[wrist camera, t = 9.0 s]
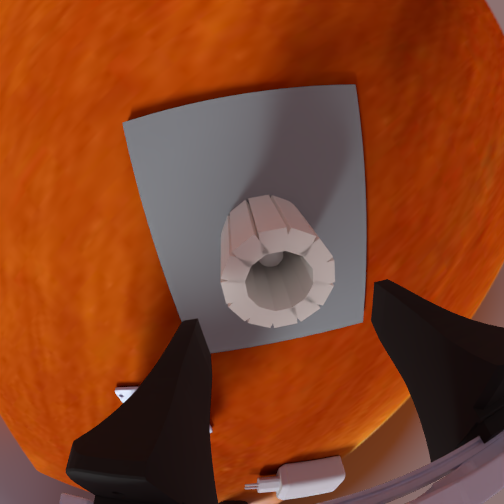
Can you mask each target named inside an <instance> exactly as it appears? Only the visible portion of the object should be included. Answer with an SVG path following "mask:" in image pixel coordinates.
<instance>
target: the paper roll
mask: <svg viewBox="0 0 504 504" xmlns="http://www.w3.org/2000/svg"><path fill="white" fill-rule="evenodd" d="M248 200H249V203H248V202H247V201H246V200H244V201H243V202H242V203H240V204H239V205H238V206H237V207H236V208H234V209H233V210H232V211H231V212H230V216H227V218H226V221H225V224H224V227H223V229H222V232H221V286H222V290H223V294H224V297H225V301H226V304H228V307H229V308H230V309H231V310H232V311H233V312H234V313H236V314H237V315H238V316H239V317H240V318H241V319H242V320H244V321H246V320H248V323H250V324H254V325H259V326H263V327H268V328H271V326H272V324H273V325H274V328H277V327H282V326H287V325H292V324H297V318H298V319H299V320H300V321H303V320H304V319H306V318H307V317H309V316H310V315H312V314H313V313H314V312H316V311H317V310H319V309H320V306H319V305H324V303H325V301H326V299H327V298H328V296H329V294H330V292H331V290H332V289H333V287H334V285H333V283H334V282H335V262H334V259H333V256H332V254H331V253H330V252H329V250H328V249H327V248H326V246H325V245H324V243H323V242H322V241H321V239H320V238H319V237H318V235H317V234H316V233H315V231H314V230H313V229H312V227H311V226H310V225H309V223H308V222H307V221H306V219H305V218H304V217H303V215H302V214H301V213H300V212H299V210H298V209H297V208H296V207H295V205H294V204H292V203H291V202H290V201H288V200H285V199H282V198H279V197H276V196H274V195H272V196H271V198H270V196H269V195H263V196H258V197H252V198H248ZM282 251H284V252H283V259H282V261H281V262H280V263H279V264H278V265H276V266H274V267H266V266H264V265H262V264H261V263H260V261H259V260H260V259H261V258H262V257H264V256H265V255H266V254H271V253H276V252H282Z"/></svg>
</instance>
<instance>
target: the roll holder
mask: <svg viewBox="0 0 504 504" xmlns="http://www.w3.org/2000/svg"><path fill="white" fill-rule="evenodd" d="M123 128H124V132H125V137H126V141H127V146H128V150H129V154H130V158H131V163H132V167H133V171H134V175H135V178H136V182H137V186H138V190H139V193H140V197H141V201H142V204H143V208H144V211H145V215H146V218H147V222H148V225H149V228H150V232H151V235H152V238H153V241H154V244H155V248H156V251H157V254H158V257H159V260H160V263H161V266H162V269H163V272H164V275H165V278H166V280H167V283H168V286H169V289H170V292H171V295H172V297H173V300H174V303H175V305H176V308H177V311H178V313H179V316H180V319H181V321H184V320H191V319H197V318H198V320H199V323H200V326H201V329H202V332H203V335H204V337H205V340H206V343H207V346H208V348H209V351H210V353H217V352H224V351H230V350H236V349H242V348H248V347H254V346H259V345H265V344H270V343H275V342H280V341H285V340H290V339H295V338H299V337H304V336H308V335H313V334H317V333H321V332H326V331H330V330H334V329H338V328H342V327H346V326H350V325H354V324H357V323H361V322H363V314H364V300H365V280H366V189H365V170H364V155H363V143H362V133H361V123H360V114H359V106H358V99H357V91H356V85H355V84H348V85H321V86H306V87H294V88H284V89H275V90H266V91H259V92H252V93H245V94H239V95H233V96H227V97H222V98H216V99H211V100H206V101H202V102H197V103H193V104H188V105H184V106H180V107H176V108H172V109H168V110H164V111H160V112H157V113H153V114H149V115H146V116H143V117H139V118H136V119H133V120H129V121H126V122H123ZM263 195H269V196H270V198H271V196H272V195H274V196H276V197H279V198H282V199H285V200H288V201H290V202H291V203H292V204H294V205H295V207H296V208H297V209H298V210H299V212H300V213H301V214H302V215H303V217H304V218H305V219H306V221H307V222H308V223H309V225H310V226H311V227H312V229H313V230H314V231H315V233H316V234H317V235H318V237H319V238H320V239H321V241H322V242H323V243H324V245H325V246H326V248H327V249H328V250H329V252H330V253H331V254H332V256H333V259H334V262H335V282H334V283H333V285H334V287H333V289H332V290H331V292H330V294H329V296H328V298H327V299H326V301H325V303H324V305H319V306H320V309H319V310H317V311H316V312H314V313H313V314H312V315H310V316H309V317H307V318H306V319H304V320H303V321H300V320H299V319H298V318H297V324H292V325H287V326H282V327H277V328H274V325H273V324H272V326H271V328H268V327H263V326H259V325H254V324H250V323H248V320H246V321H244V320H242V319H241V318H240V317H239V316H238V315H237V314H236V313H234V312H233V311H232V310H231V309H230V308H229V307H228V304H226V301H225V297H224V294H223V290H222V286H221V232H222V229H223V227H224V224H225V221H226V218H227V216H230V212H231V211H232V210H233V209H234V208H236V207H237V206H238V205H239V204H240V203H242V202H243V201H244V200H246V201H247V202H248V203H249V200H248V198H252V197H258V196H263ZM283 252H284V251H282V252H276V253H271V254H266V255H265V256H264V257H262V258H261V259H260V260H259V261H260V263H261V264H262V265H264V266H266V267H274V266H276V265H278V264H279V263H280V262H281V261H282V259H283Z"/></svg>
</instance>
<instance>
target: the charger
mask: <svg viewBox="0 0 504 504" xmlns="http://www.w3.org/2000/svg"><path fill="white" fill-rule="evenodd" d="M344 478H345V471H344V467H343V464H342V461H341V458H340V456H339V455H338V456H333V457H328V458H323V459H317V460H311V461H304V462H297V463H289V464H284V465H283V466H281V467H280V468H279V469H278V471H277V474H276V476H271V477H259V478H258V479H257V483H256V484H245V486H255V487H245V489H257V492H258V493H264V492H274V491H276V496H277V498H279V499H282V500H286V499H293V498H300V497H306V496H312V495H317V494H322V493H327V492H332V491H334V490H335V489H336V488H337V486H338V485H339V484H340V483H341V482H342V481H343V480H344Z"/></svg>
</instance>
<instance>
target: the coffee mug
mask: <svg viewBox="0 0 504 504" xmlns="http://www.w3.org/2000/svg"><path fill="white" fill-rule="evenodd" d="M218 504H248V503H247V502H245V501H224V502H220V503H218Z"/></svg>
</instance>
